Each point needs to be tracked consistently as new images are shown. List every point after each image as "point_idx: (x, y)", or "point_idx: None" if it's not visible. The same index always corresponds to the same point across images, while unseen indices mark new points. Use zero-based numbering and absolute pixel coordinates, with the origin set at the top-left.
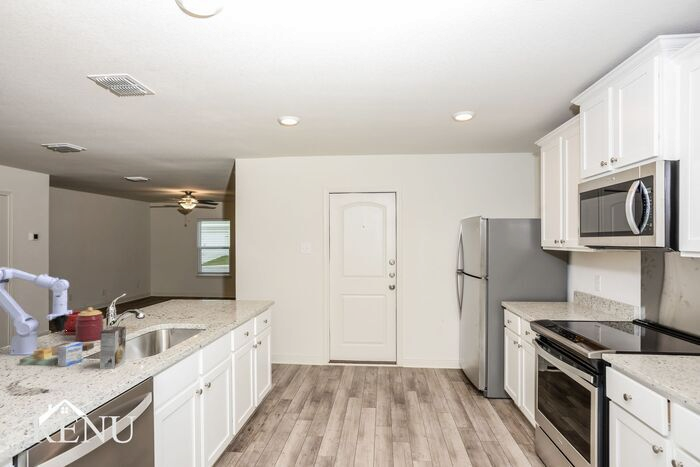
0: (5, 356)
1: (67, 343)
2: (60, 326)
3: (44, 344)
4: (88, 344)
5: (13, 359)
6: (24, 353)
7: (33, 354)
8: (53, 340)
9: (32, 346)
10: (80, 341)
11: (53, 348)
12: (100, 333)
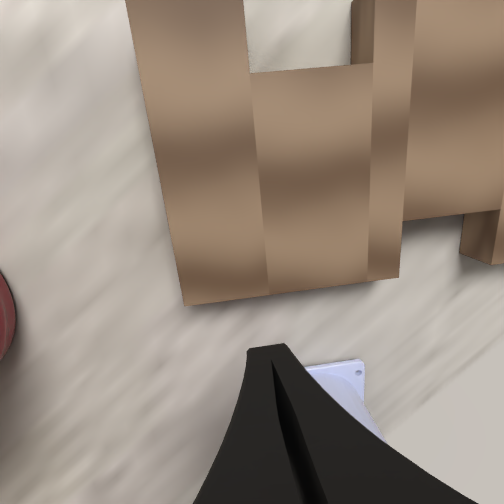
0: None
1: (194, 264)
2: (323, 397)
3: (142, 461)
4: (191, 7)
5: (435, 362)
6: (356, 390)
7: (494, 258)
8: (48, 488)
9: (345, 402)
10: (11, 300)
11: (345, 250)
12: None
